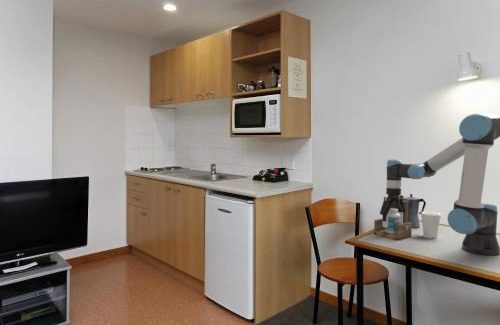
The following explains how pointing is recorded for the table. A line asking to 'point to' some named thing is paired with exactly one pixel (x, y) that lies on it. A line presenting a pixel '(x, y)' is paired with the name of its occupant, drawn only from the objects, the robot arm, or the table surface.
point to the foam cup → (430, 224)
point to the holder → (401, 230)
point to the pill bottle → (392, 220)
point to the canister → (405, 215)
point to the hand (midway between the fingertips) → (392, 225)
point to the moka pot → (414, 210)
